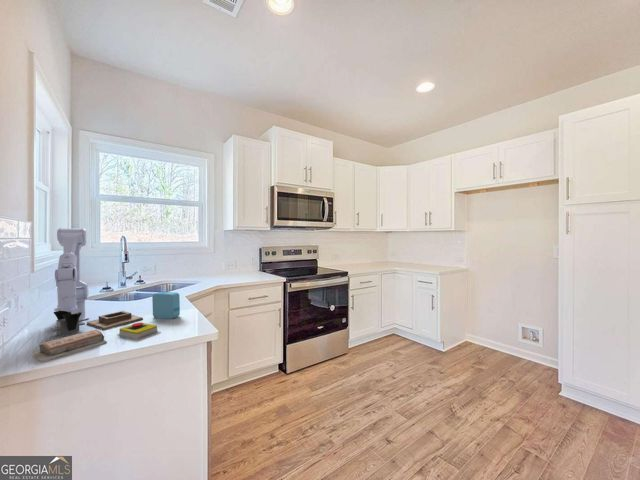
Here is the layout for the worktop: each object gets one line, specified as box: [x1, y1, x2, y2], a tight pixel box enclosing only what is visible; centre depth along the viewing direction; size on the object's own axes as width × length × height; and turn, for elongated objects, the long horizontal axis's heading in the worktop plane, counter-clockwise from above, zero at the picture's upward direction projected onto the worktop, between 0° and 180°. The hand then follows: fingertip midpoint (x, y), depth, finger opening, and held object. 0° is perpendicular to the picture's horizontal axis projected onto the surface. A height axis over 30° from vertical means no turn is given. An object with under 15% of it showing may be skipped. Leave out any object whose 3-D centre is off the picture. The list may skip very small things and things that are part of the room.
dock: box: [86, 310, 144, 331], centre depth 130 cm, size 16×16×3 cm
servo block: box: [49, 319, 86, 337], centre depth 116 cm, size 4×10×7 cm, turn 150°
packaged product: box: [32, 329, 108, 363], centre depth 100 cm, size 18×5×10 cm
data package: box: [151, 291, 181, 320], centre depth 137 cm, size 12×4×12 cm, turn 77°
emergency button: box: [116, 322, 162, 341], centre depth 115 cm, size 9×4×15 cm
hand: (68, 328), depth 116 cm, fingers open, 7 cm apart
